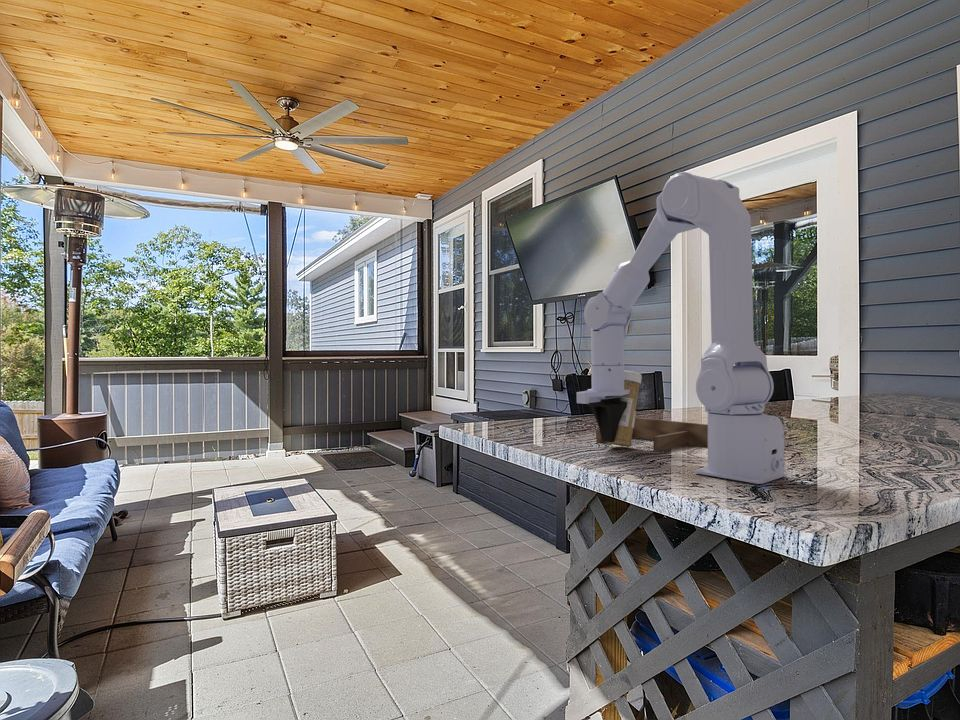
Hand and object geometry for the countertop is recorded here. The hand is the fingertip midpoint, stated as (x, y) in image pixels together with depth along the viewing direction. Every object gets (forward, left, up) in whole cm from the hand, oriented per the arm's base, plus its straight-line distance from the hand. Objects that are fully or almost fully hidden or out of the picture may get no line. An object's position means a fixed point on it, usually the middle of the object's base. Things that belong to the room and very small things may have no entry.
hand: (608, 441), depth 104 cm
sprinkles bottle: (0, -2, -1) cm, 3 cm away
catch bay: (0, -10, -2) cm, 10 cm away
